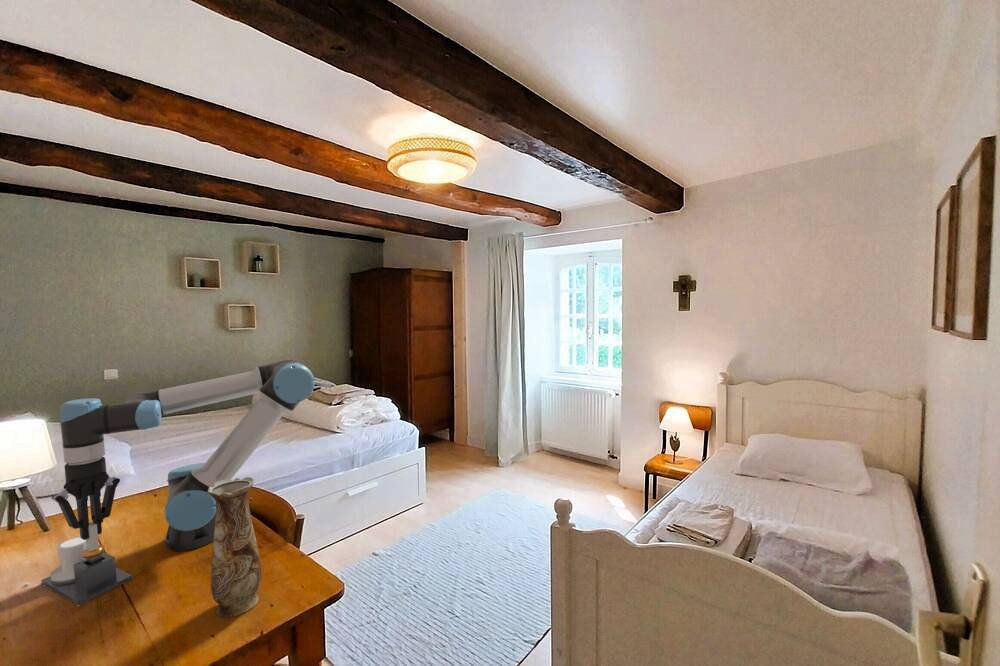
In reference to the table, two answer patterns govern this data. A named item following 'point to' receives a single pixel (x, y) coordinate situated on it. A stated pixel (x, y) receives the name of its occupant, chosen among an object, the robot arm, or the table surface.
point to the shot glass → (71, 553)
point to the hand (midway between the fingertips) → (92, 548)
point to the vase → (234, 549)
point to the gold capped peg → (93, 555)
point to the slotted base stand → (90, 580)
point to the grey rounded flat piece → (61, 577)
